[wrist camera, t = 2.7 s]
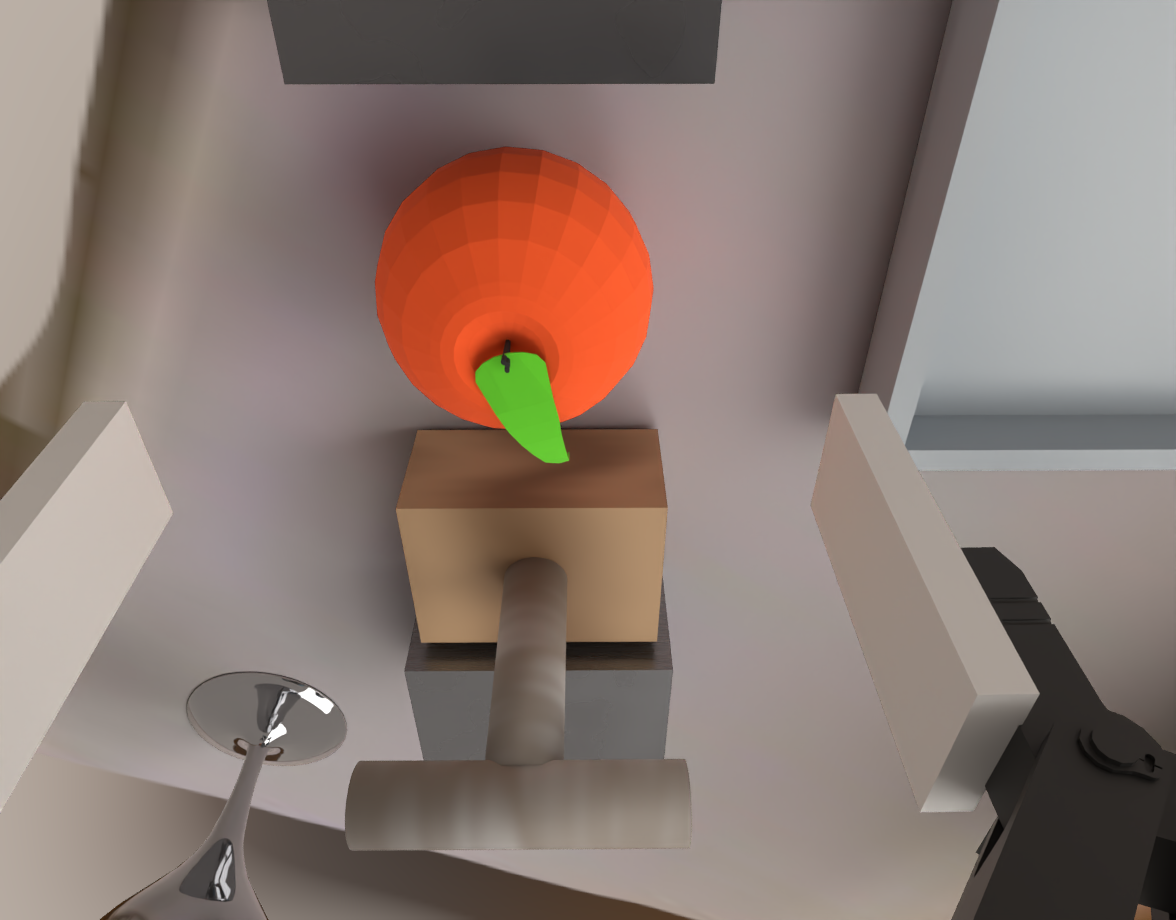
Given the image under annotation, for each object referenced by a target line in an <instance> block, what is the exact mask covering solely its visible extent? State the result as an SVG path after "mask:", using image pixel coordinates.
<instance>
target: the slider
mask: <svg viewBox="0 0 1176 920" xmlns="http://www.w3.org/2000/svg"><path fill="white" fill-rule="evenodd" d="M561 433H562V437H563V441H564V445H565V449H566V452H567V453H568V452H569V461H566V462H562V463H545V462H544V461H542V460H541V459H539V458H537V457H536V456H534V455H533V454H532V453H530V452H529V451H528V450H527V449H525V448H524V447H523V446H522V445H521V444H520V443H519V442H518V441H517V440H516V439H515V438H514V437H513V436H512V435H511V434H510V433H509V432H508V431H507V430H417V434H416V438H415V441H414V445H413V448H412V452H411V456H410V459H409V463H408V466H407V470H406V474H405V477H404V481H403V484H402V488H401V492H400V495H399V499H398V502H397V506H396V513H397V518H398V524H399V529H400V534H401V539H402V544H403V550H404V555H405V560H406V565H407V571H408V576H409V581H410V586H411V592H412V597H413V602H414V607H415V613H416V618H417V623H418V628H419V633H420V639H421V643H461V642H497V650H496V660H495V669H494V679H493V688H492V698H491V707H490V717H489V726H488V736H487V745H486V755H485V760H439V761H359V762H358V763H357V765H356V766H355V768H354V770H353V773H352V776H351V780H350V784H349V788H348V794H347V801H346V811H345V834H346V841H347V845H348V847H349V849H350V850H506V849H671V848H690V844H691V832H692V812H691V793H690V782H689V774H688V768H687V763H686V761H685V759H621V760H564V725H565V673H566V642H657V635H658V623H659V610H660V597H661V585H662V572H663V560H664V547H665V534H666V522H667V509H668V507H667V499H666V491H665V484H664V476H663V468H662V460H661V453H660V445H659V437H658V429H577V430H561Z"/></svg>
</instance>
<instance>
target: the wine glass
mask: <svg viewBox="0 0 1176 920" xmlns="http://www.w3.org/2000/svg"><path fill="white" fill-rule="evenodd" d="M187 714H188V718H189V721H190V723H191V725H192V726H193V728H194V730H195V731H196V732H197V733H198V734H199V735H200V736H201V737H202V738H203V739H204V740H205V741H207V742H208V743H209V744H210V745H212V746H214V747H215V748H217V749H218V750H220V751H222V752H224V753H227V754H229V755H231V756H234V757H236V758H239V759H242V760H244V763H243V766H242V769H241V772H240V774H239V777H238V780H237V782H236V784H235V787H234V789H233V791H232V793H231V795H230V798H229V800H228V802H227V804H226V806H225V808H224V810H223V812H222V814H221V816H220V817H219V819H218V821H217V823H216V825H215V827H214V828H213V830H212V832H211V833H210V835H209V836H208V838H207V839H206V841H205V842H204V843H203V844H202V845H201V846H200V847H199V848H198V849H197V850H196V851H195V852H194V853H193V855H191V856H190V857H189V858H188V859H186V860H185V861H184V862H183V863H181V864H180V865H179V866H178V867H177V868H175V869H174V870H172V871H171V872H169V873H167V874H166V875H164V876H163V877H161V878H159V879H158V880H156V881H155V882H153V883H152V884H150V885H148V886H147V887H145V888H144V889H142V890H140V891H139V892H137V893H136V894H134V895H133V896H131V897H129V898H128V899H126V900H125V901H123V902H121V903H120V904H119V905H117V906H116V907H115V908H113V909H112V910H111V911H110V912H108V913H107V914H106V915H104V916H103V917H102V918H101V919H100V920H269V919H268V918H267V916H266V913H265V912H264V909H263V907H262V905H261V903H260V901H259V899H258V897H257V895H256V893H255V891H254V889H253V887H252V885H251V883H250V880H249V877H248V873H247V870H246V867H245V861H244V853H243V840H244V833H245V828H246V822H247V817H248V813H249V808H250V804H251V799H252V796H253V792H254V788H255V785H256V782H257V778H258V775H259V773H260V770H261V767H262V764H264V765H272V766H296V765H304V764H309V763H313V762H316V761H319V760H322V759H324V758H326V757H328V756H330V755H331V754H333V753H334V752H335V751H336V750H337V749H338V748H339V747H340V746H341V745H342V743H343V742H344V740H345V738H346V733H347V724H346V721H345V718H344V715H343V714H342V712H341V711H340V709H339V708H338V706H337V705H336V704H335V703H334V702H333V701H332V700H331V699H329V698H328V697H327V696H325V695H324V694H323V693H321V692H320V691H318V690H316V689H314V688H313V687H311V686H309V685H306V684H304V683H302V682H299V681H297V680H294V679H290V678H287V677H283V676H279V675H273V674H268V673H256V672H242V673H232V674H226V675H222V676H218V677H215V678H212V679H210V680H208V681H206V682H204V683H202V684H201V685H200V686H199V687H197V688H196V689H195V690H194V691H193V693H192V694H191V695H190V697H189V700H188V703H187Z"/></svg>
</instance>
